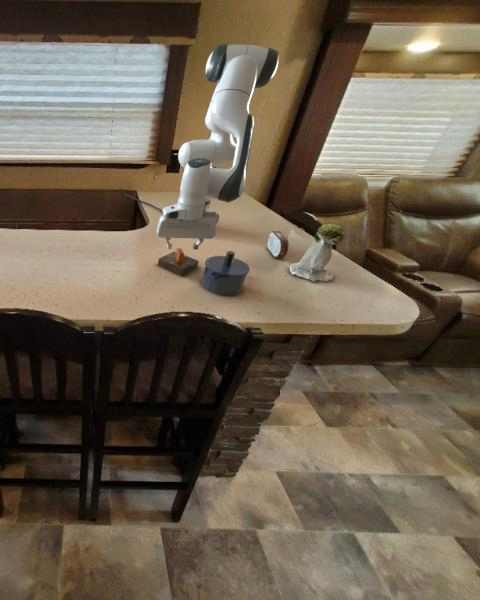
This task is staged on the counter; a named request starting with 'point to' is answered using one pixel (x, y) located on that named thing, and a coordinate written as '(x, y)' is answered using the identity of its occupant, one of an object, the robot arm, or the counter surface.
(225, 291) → the pot
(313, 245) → the mossy white figurine
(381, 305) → the counter surface
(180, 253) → the block
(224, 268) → the pot lid
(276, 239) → the tin
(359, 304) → the counter surface
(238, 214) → the counter surface
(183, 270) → the handle block
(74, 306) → the counter surface
